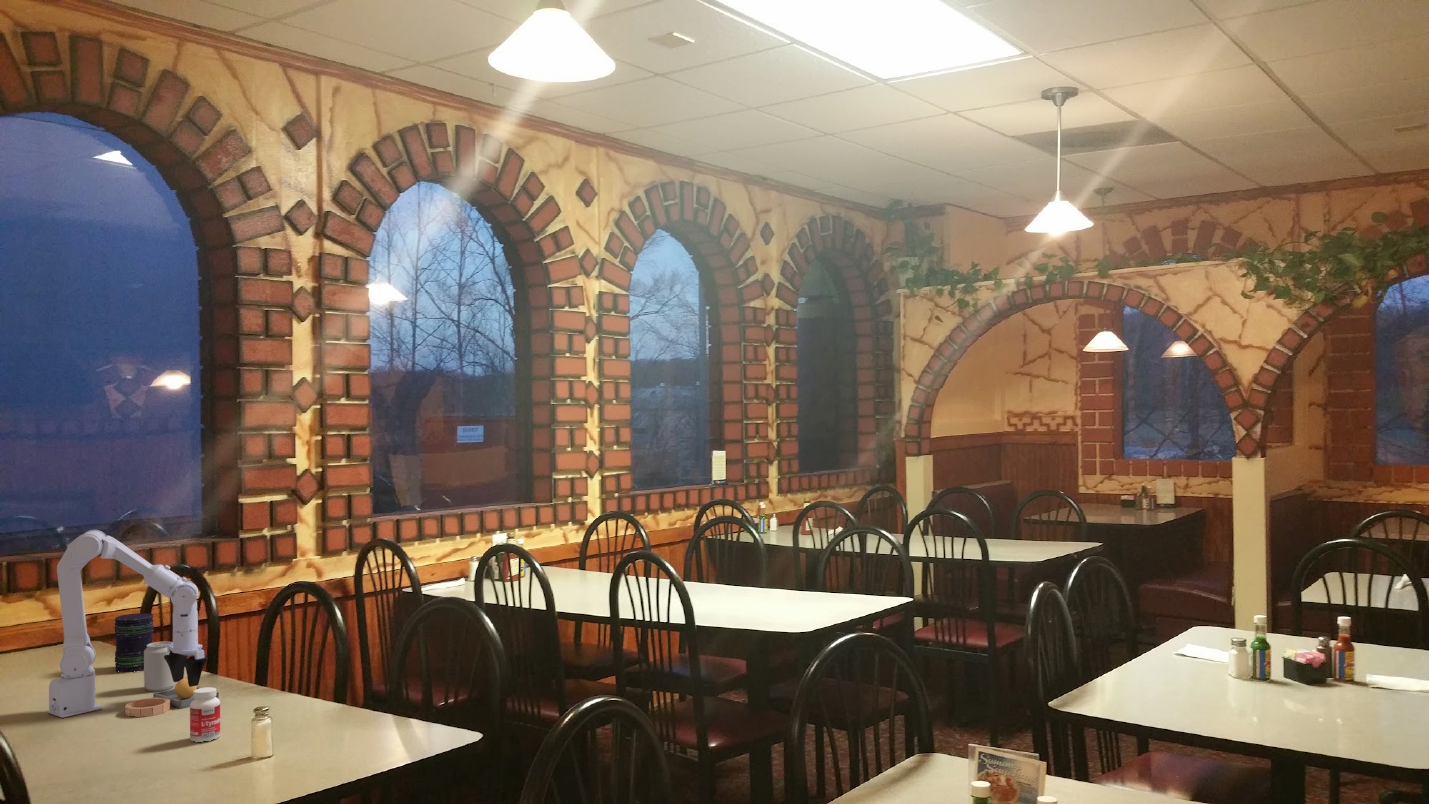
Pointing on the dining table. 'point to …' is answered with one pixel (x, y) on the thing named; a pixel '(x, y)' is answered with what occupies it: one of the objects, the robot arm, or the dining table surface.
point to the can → (157, 667)
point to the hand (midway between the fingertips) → (185, 683)
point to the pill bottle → (204, 715)
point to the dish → (147, 707)
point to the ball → (184, 689)
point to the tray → (177, 698)
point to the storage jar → (132, 640)
